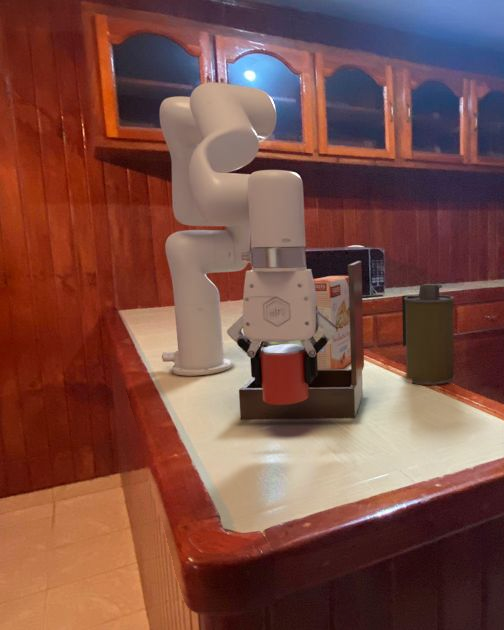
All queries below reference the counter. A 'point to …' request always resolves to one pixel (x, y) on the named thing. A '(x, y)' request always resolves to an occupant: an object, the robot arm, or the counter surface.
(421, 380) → the canister
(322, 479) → the counter surface
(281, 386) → the tin can
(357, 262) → the lid
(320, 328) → the cracker box
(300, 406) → the chest
